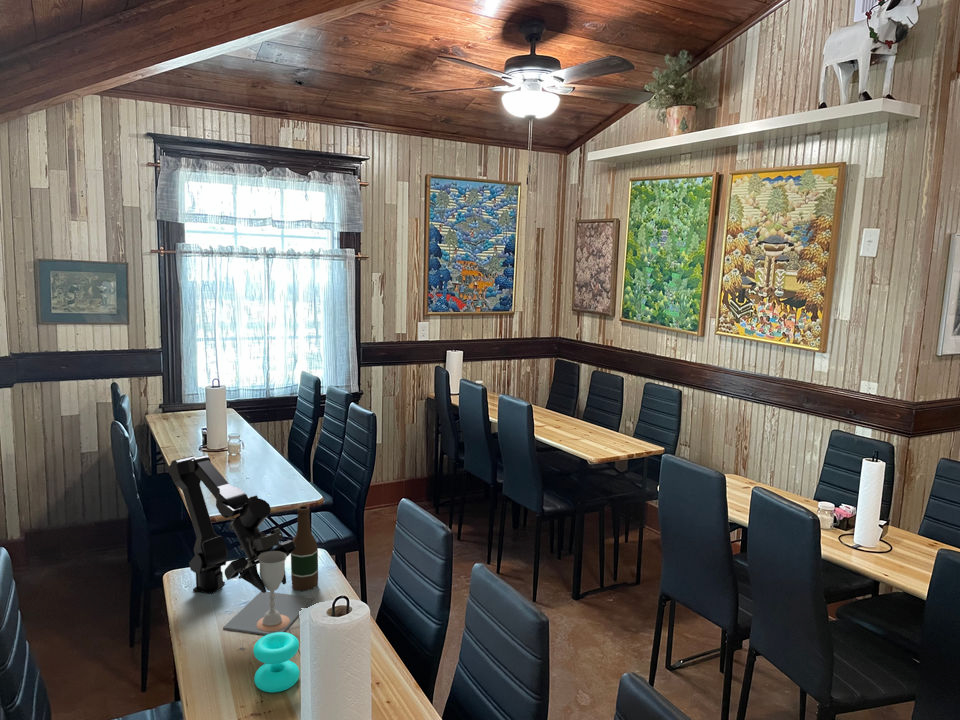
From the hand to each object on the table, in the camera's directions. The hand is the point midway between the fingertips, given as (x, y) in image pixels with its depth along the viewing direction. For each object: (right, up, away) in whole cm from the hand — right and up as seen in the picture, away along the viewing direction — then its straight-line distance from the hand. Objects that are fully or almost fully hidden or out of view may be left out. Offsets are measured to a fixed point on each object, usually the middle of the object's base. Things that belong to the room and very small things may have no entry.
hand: (275, 588), depth 183 cm
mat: (-4, -10, +8) cm, 13 cm away
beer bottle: (+2, -7, +24) cm, 25 cm away
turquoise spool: (+7, -15, -21) cm, 27 cm away
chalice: (-2, -10, +3) cm, 10 cm away
